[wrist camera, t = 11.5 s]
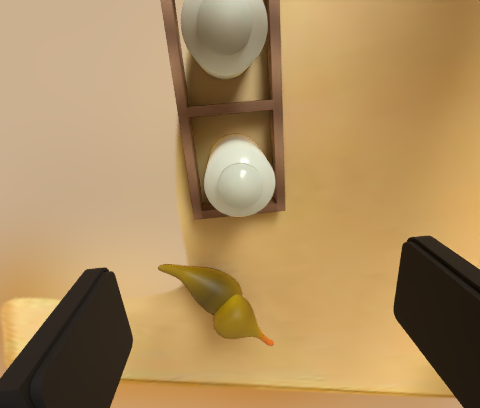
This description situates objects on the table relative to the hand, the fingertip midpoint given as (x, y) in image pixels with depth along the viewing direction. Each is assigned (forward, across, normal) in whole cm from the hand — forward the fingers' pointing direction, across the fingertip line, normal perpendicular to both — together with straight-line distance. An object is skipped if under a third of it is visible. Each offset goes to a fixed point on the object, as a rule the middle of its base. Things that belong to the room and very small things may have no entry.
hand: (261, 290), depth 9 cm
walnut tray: (+20, 0, -5) cm, 21 cm away
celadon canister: (+20, 0, 0) cm, 20 cm away
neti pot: (+20, +3, +14) cm, 25 cm away
